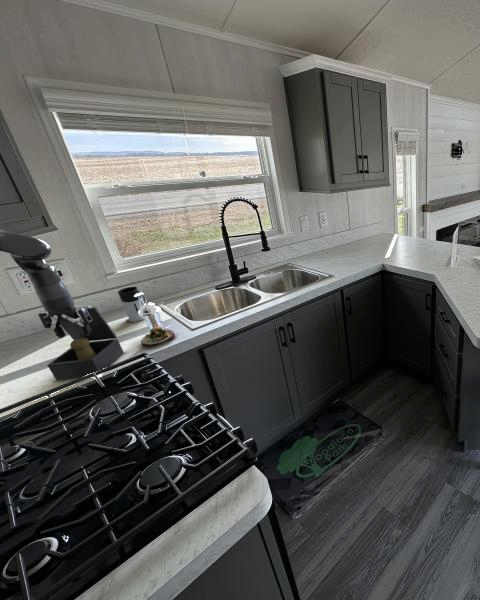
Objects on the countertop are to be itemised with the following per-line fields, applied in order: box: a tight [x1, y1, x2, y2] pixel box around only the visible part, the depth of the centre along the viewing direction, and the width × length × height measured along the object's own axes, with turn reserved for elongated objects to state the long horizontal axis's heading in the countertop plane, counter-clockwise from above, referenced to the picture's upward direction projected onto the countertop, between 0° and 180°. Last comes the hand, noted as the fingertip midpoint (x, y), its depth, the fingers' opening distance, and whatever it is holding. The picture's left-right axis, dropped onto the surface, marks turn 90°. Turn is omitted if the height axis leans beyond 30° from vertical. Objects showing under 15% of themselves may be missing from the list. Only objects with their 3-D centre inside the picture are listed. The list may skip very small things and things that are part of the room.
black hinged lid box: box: [46, 338, 125, 381], centre depth 125 cm, size 15×15×7 cm
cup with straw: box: [133, 292, 165, 331], centre depth 145 cm, size 8×9×20 cm
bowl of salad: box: [140, 325, 176, 346], centre depth 140 cm, size 12×12×8 cm
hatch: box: [60, 304, 118, 342], centre depth 127 cm, size 15×15×5 cm
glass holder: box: [117, 286, 148, 323], centre depth 158 cm, size 9×14×15 cm, turn 72°
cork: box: [69, 338, 96, 360], centre depth 123 cm, size 6×6×11 cm
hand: (75, 335), depth 120 cm, fingers open, 8 cm apart
